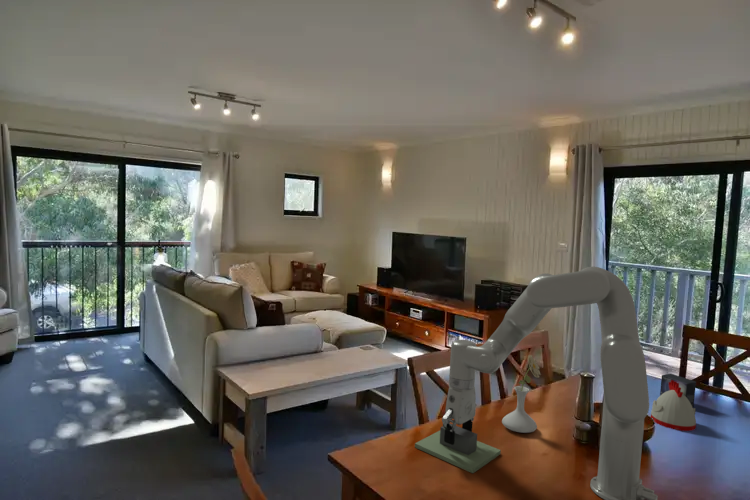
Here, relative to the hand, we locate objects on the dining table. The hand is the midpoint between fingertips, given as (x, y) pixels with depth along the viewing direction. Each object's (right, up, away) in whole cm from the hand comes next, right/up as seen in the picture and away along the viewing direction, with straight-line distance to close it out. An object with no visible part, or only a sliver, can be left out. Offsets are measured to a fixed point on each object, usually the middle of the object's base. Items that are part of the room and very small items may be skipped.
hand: (458, 438), depth 142 cm
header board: (0, -4, 0) cm, 4 cm away
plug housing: (0, -3, 0) cm, 3 cm away
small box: (+97, -6, +50) cm, 109 cm away
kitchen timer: (+83, -7, +30) cm, 89 cm away
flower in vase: (+24, -4, +18) cm, 31 cm away
